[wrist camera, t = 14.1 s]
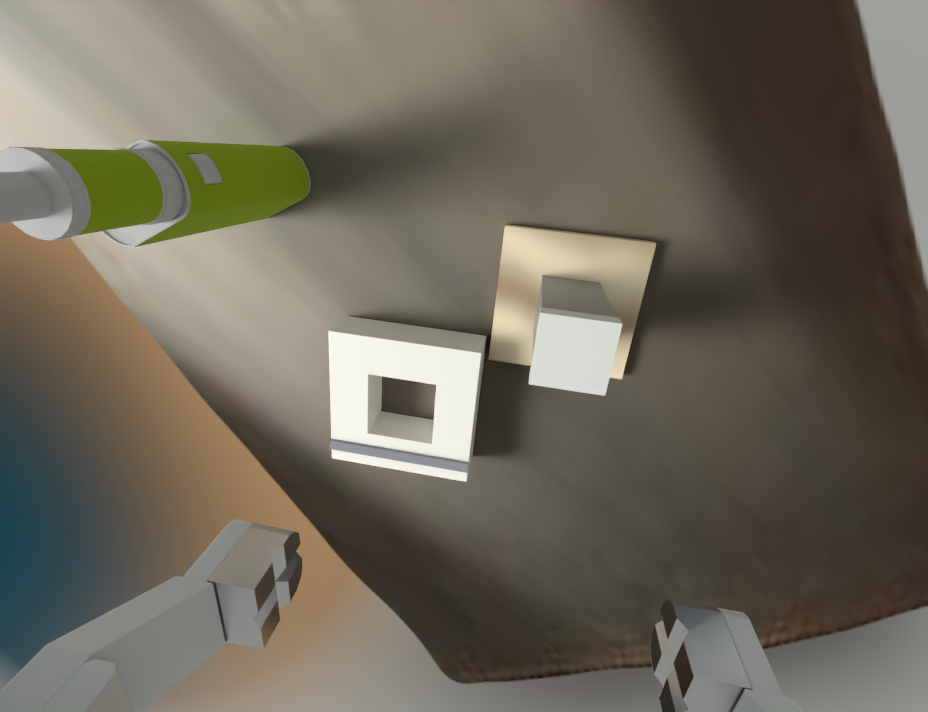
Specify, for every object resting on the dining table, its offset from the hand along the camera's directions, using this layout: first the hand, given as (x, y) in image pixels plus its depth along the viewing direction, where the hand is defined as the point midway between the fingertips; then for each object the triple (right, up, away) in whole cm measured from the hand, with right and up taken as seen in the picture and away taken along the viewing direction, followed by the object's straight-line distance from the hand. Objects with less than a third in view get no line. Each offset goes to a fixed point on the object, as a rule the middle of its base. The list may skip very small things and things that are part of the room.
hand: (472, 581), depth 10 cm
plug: (+7, +9, +23) cm, 25 cm away
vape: (-14, +18, +23) cm, 33 cm away
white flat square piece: (-4, +2, +28) cm, 29 cm away
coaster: (+7, +9, +23) cm, 26 cm away
